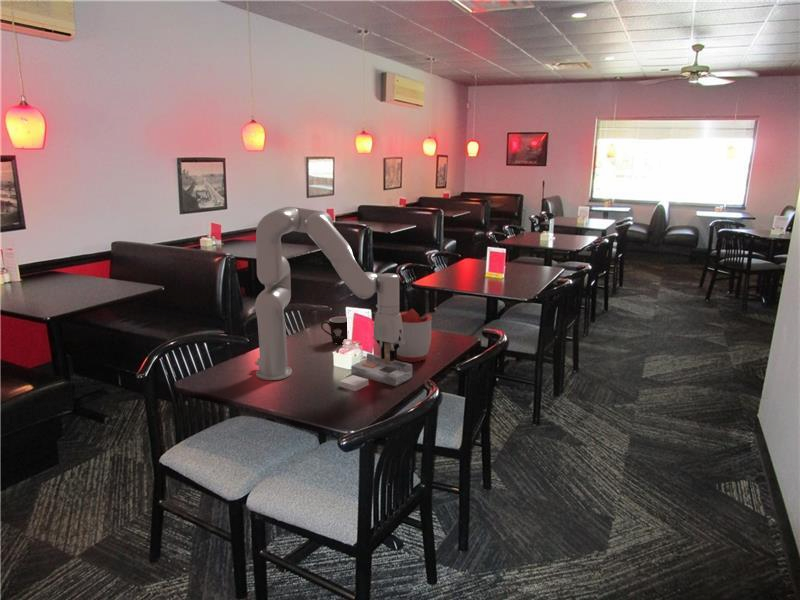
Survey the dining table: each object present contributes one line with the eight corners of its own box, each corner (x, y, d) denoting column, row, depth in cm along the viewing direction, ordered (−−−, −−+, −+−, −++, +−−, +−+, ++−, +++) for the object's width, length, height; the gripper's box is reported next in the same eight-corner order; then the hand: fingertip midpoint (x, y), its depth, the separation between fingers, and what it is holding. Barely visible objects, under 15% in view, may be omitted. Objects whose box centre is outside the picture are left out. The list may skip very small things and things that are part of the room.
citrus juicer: (440, 355, 224) (442, 306, 220) (417, 367, 210) (418, 316, 206) (408, 347, 233) (408, 301, 228) (383, 359, 219) (383, 310, 214)
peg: (382, 363, 199) (382, 342, 197) (387, 361, 201) (387, 339, 199) (389, 365, 197) (389, 343, 195) (395, 362, 200) (395, 341, 198)
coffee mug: (354, 341, 240) (353, 318, 238) (341, 346, 233) (341, 323, 231) (332, 336, 246) (332, 314, 244) (320, 341, 239) (319, 319, 237)
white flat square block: (339, 386, 192) (339, 381, 192) (352, 380, 198) (352, 374, 197) (355, 391, 188) (355, 385, 188) (368, 384, 194) (368, 379, 193)
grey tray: (351, 373, 204) (351, 360, 203) (368, 365, 212) (368, 353, 211) (395, 386, 193) (396, 372, 192) (412, 377, 201) (412, 364, 199)
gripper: (363, 308, 196) (364, 357, 201) (401, 315, 187) (401, 367, 191) (376, 303, 202) (377, 351, 206) (414, 310, 193) (413, 360, 197)
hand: (388, 358), depth 199 cm, fingers closed on peg, 3 cm apart
